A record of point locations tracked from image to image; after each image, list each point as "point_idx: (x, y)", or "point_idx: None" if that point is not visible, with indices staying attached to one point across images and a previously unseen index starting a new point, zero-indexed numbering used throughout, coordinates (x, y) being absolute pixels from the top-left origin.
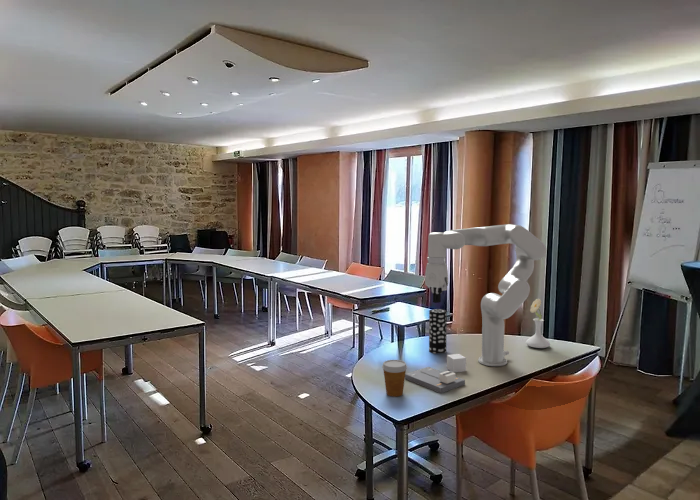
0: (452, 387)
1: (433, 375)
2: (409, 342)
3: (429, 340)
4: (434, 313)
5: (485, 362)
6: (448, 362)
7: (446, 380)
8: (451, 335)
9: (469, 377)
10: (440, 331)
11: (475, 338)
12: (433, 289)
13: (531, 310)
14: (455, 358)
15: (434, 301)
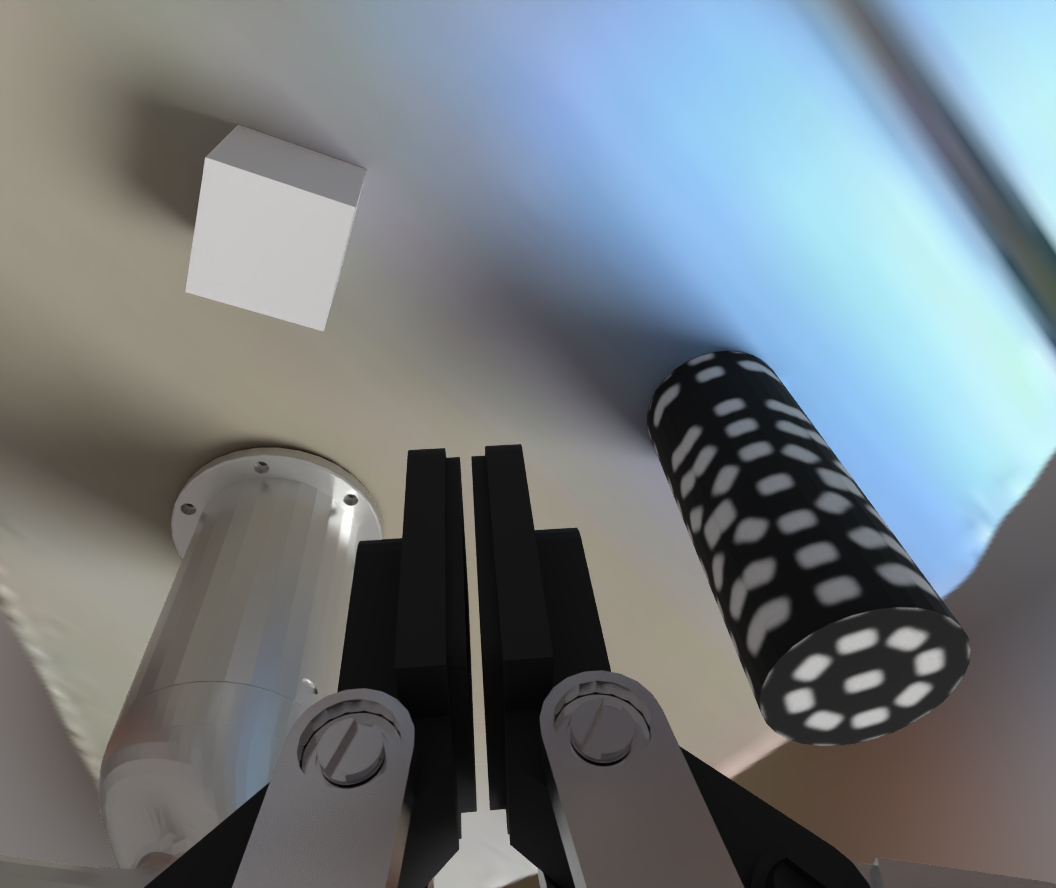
0: None
1: None
2: (1017, 391)
3: (793, 407)
4: (849, 607)
5: (253, 466)
6: (326, 175)
7: None
8: None
9: (57, 145)
10: (714, 502)
11: (689, 726)
12: (576, 854)
13: None
14: (215, 194)
15: (472, 474)
